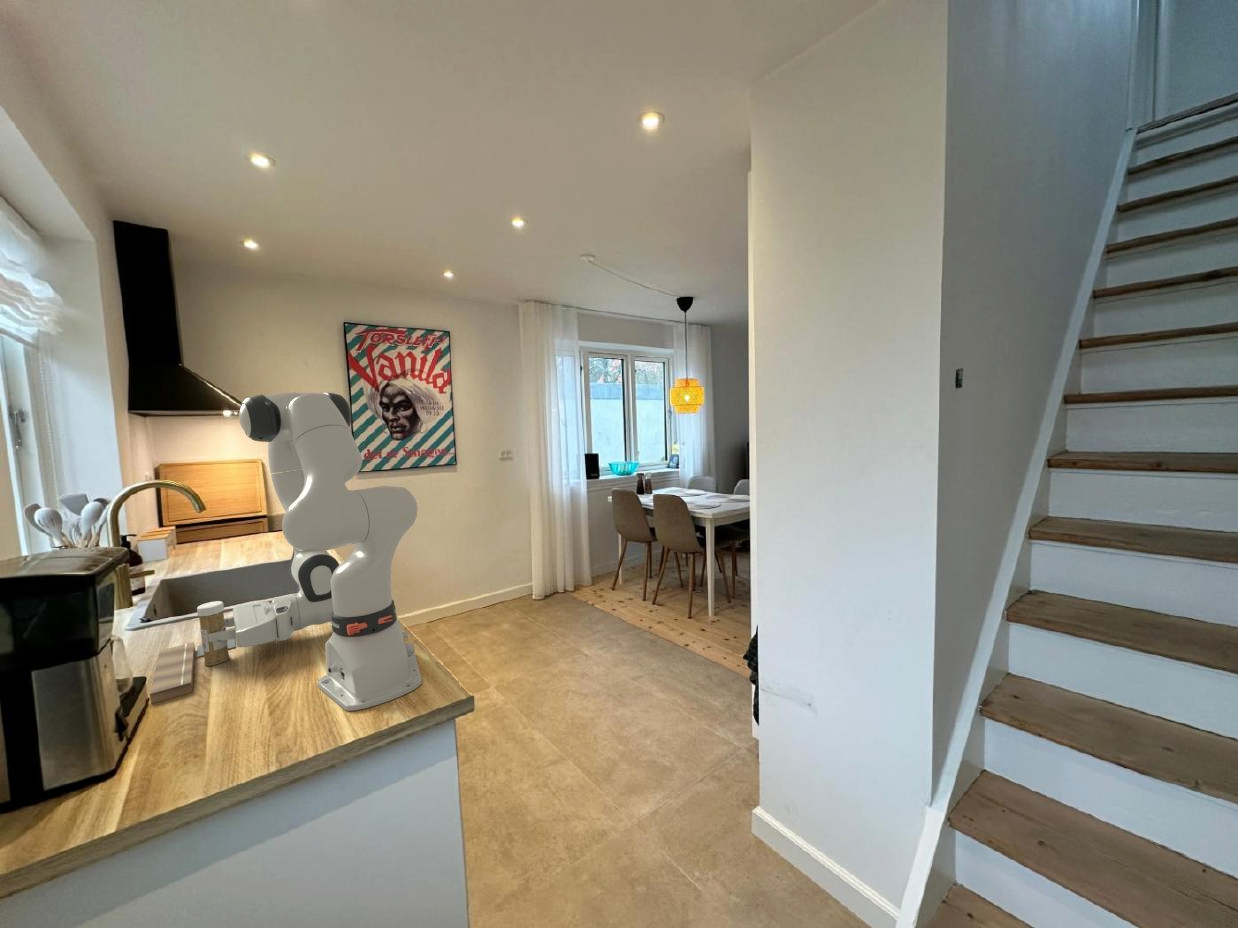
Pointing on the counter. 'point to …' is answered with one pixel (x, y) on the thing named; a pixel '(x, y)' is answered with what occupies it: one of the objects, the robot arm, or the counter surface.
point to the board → (173, 673)
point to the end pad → (230, 645)
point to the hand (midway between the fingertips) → (208, 632)
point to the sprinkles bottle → (211, 622)
